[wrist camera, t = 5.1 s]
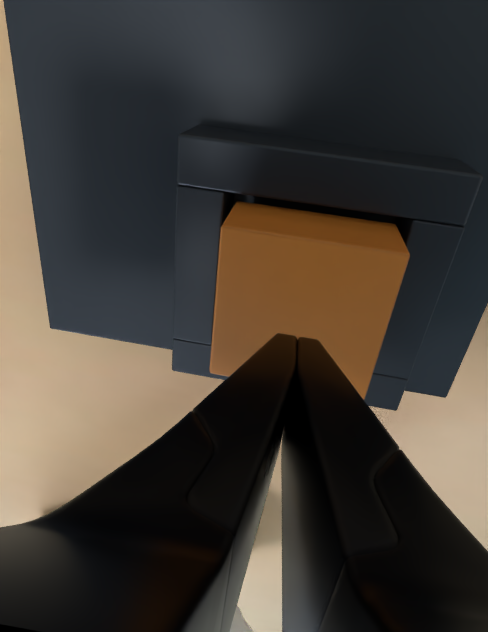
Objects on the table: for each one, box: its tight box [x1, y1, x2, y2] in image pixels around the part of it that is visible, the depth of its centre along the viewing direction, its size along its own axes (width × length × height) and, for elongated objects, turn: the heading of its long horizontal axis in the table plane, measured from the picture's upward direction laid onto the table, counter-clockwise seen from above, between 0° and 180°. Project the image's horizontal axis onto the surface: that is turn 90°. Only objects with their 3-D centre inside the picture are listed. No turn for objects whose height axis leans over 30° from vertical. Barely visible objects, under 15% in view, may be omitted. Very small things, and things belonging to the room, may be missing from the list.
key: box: [210, 201, 410, 400], centre depth 11 cm, size 4×4×2 cm
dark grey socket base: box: [3, 0, 488, 410], centre depth 13 cm, size 14×11×4 cm
